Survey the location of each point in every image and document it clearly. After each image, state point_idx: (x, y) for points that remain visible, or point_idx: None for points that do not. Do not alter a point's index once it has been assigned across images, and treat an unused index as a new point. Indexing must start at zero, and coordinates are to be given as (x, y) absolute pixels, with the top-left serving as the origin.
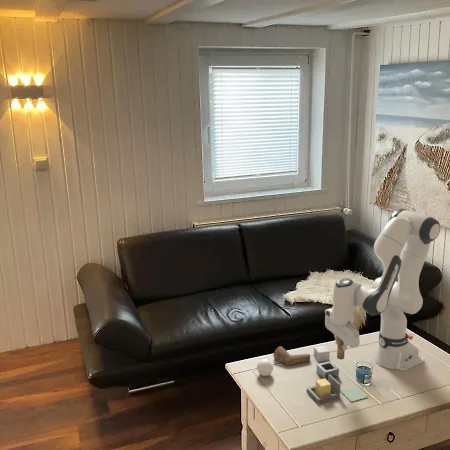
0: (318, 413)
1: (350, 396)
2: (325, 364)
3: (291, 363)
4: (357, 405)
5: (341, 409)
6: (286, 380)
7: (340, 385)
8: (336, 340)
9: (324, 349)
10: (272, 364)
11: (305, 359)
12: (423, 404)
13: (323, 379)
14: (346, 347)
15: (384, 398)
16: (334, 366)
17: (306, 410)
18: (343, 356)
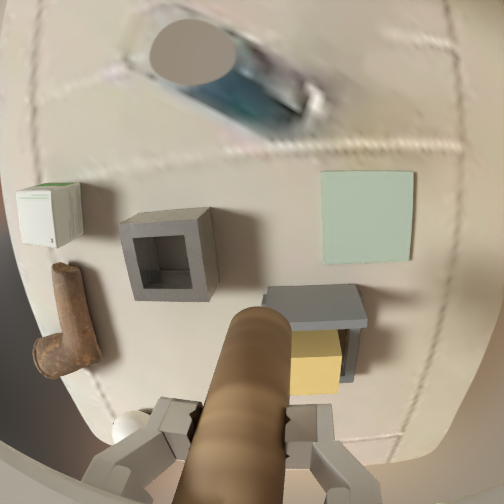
0: (391, 386)
1: (379, 245)
2: (138, 259)
3: (96, 341)
4: (433, 247)
5: (419, 316)
6: (184, 392)
7: (366, 315)
8: (172, 462)
9: (38, 209)
10: (133, 431)
11: (79, 293)
12: (497, 11)
13: (292, 367)
14: (331, 427)
15: (440, 105)
16: (168, 230)
17: (360, 407)
18: (289, 340)
